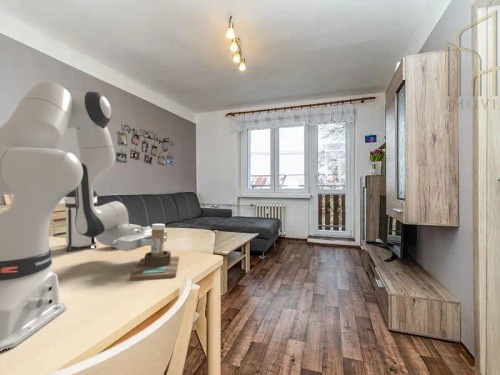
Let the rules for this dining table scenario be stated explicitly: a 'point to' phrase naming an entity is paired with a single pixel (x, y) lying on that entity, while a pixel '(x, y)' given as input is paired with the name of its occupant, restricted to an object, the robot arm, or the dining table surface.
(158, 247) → the sprinkles bottle
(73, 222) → the coffee press
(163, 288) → the dining table surface
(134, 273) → the socket board
